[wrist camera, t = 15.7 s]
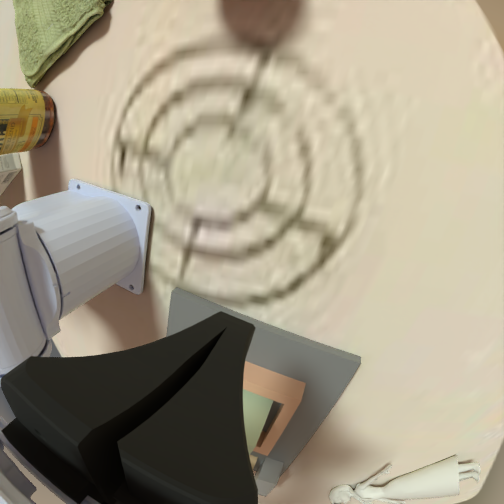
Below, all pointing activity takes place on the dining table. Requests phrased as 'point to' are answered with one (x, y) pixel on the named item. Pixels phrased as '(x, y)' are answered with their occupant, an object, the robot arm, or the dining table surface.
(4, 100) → the sauce bottle
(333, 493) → the woman figurine
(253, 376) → the housing
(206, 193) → the dining table surface
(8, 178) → the ink cartridge box
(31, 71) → the washcloth
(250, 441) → the sage green cube
